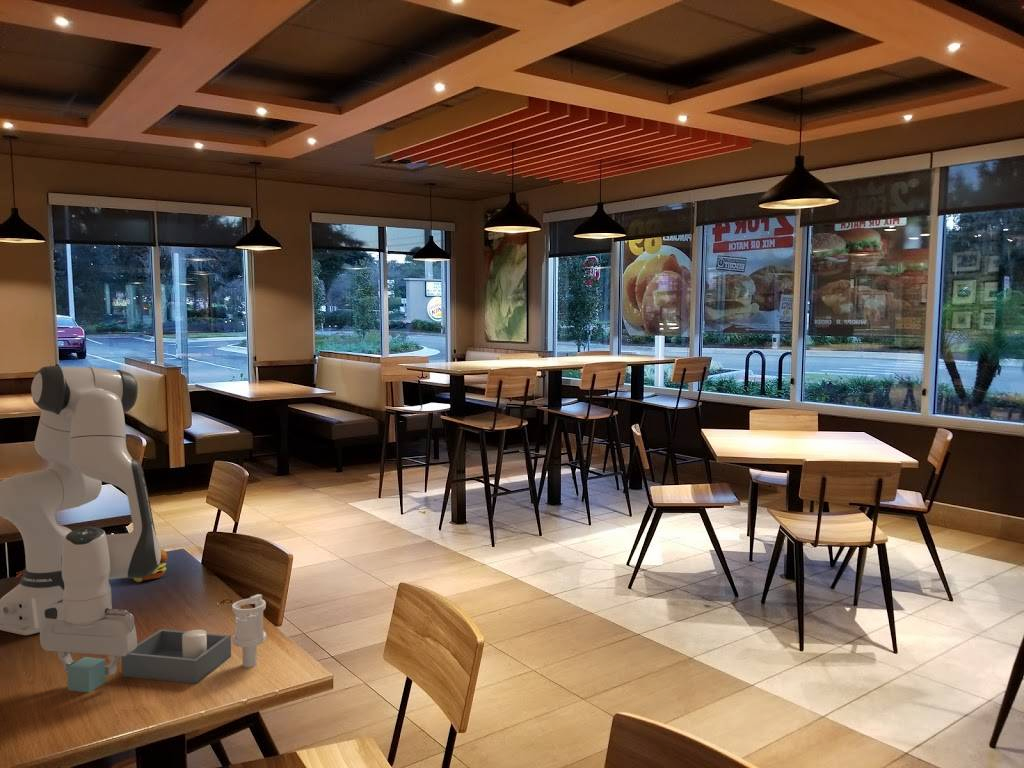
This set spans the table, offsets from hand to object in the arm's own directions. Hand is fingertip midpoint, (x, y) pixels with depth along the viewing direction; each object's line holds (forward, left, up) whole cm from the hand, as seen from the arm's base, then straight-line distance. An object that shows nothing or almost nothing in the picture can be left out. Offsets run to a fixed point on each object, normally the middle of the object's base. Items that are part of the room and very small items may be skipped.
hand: (90, 672), depth 161 cm
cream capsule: (+16, +12, -2) cm, 20 cm away
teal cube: (-1, 0, -3) cm, 3 cm away
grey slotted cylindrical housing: (+27, +16, -3) cm, 32 cm away
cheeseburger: (-33, +65, -3) cm, 73 cm away
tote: (+12, +12, -3) cm, 17 cm away
